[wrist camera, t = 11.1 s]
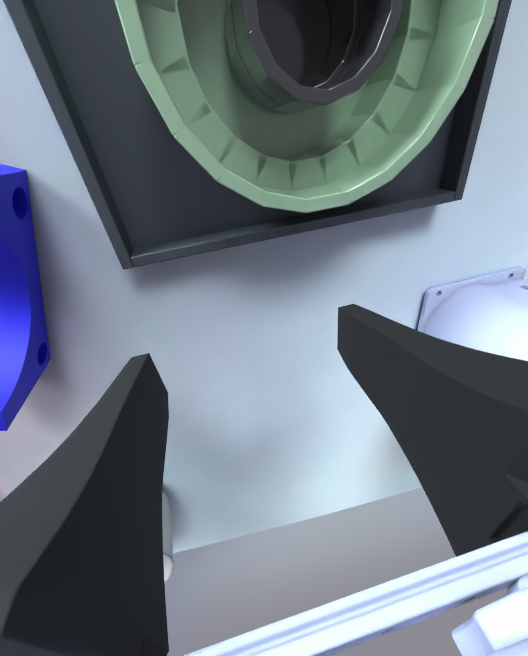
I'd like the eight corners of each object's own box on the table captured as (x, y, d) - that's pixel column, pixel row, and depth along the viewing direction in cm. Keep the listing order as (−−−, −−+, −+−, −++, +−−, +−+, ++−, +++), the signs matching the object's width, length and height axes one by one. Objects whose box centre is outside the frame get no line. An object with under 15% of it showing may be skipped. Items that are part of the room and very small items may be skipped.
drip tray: (549, -337, 10) (620, -430, 8) (439, 194, 20) (462, 199, 18) (-132, -357, 8) (-218, -491, 6) (128, 257, 17) (122, 269, 16)
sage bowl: (433, -224, 11) (613, -486, 6) (390, 172, 18) (456, 183, 14) (65, -216, 9) (-49, -552, 5) (184, 211, 17) (184, 237, 12)
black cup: (340, -63, 12) (421, -167, 8) (338, 105, 15) (394, 94, 11) (211, -52, 11) (225, -158, 7) (237, 121, 15) (257, 115, 10)
